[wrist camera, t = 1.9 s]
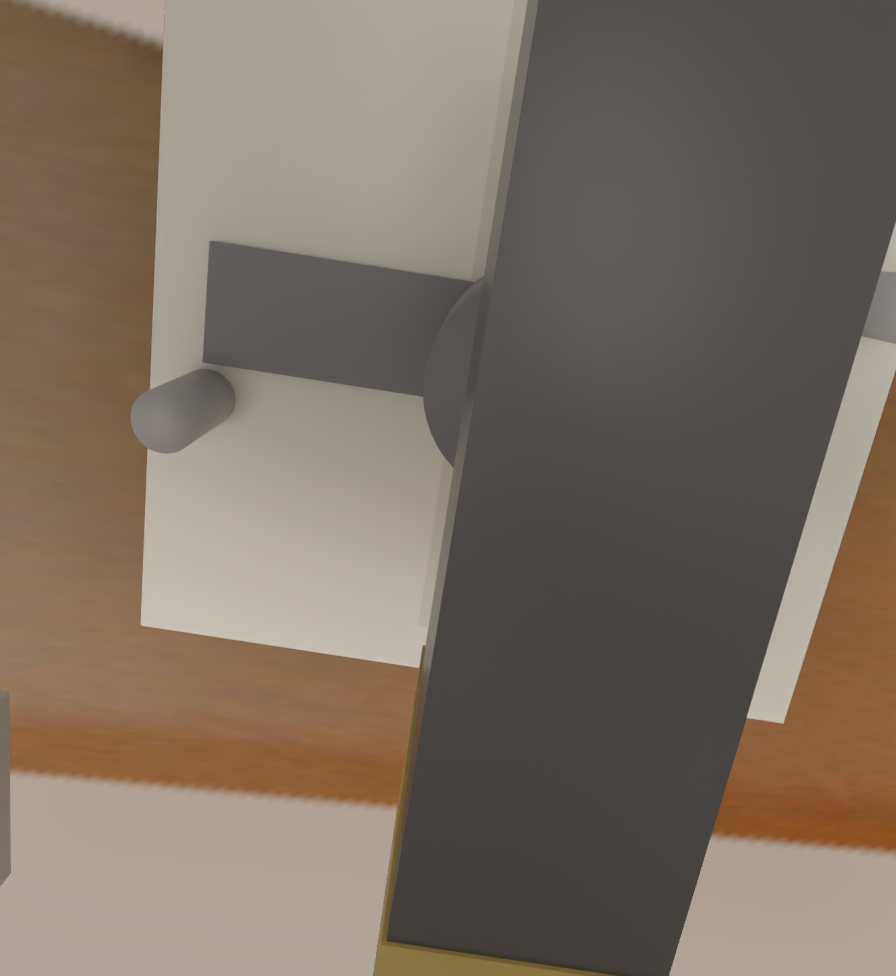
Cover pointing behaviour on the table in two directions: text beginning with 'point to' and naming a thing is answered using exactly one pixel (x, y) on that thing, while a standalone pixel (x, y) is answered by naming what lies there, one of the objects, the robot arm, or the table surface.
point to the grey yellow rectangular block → (633, 465)
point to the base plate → (356, 325)
